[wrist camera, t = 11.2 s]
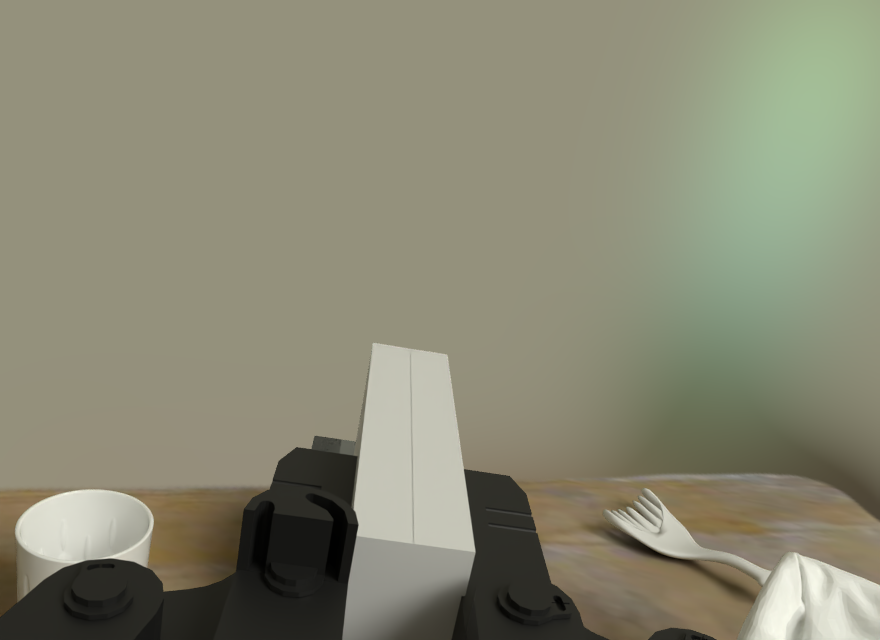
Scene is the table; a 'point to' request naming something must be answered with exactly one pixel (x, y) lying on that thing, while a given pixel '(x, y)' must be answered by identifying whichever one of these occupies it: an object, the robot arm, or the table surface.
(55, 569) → the white cup
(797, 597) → the storage basket
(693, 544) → the white plastic spork
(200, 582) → the table surface
